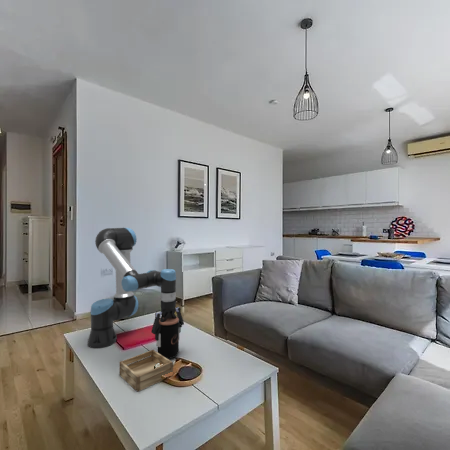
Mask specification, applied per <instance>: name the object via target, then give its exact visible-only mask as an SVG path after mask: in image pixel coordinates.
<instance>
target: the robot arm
mask: <svg viewBox="0 0 450 450" xmlns="http://www.w3.org/2000/svg"><path fill="white" fill-rule="evenodd" d="M137 239H138V238H137V235H136V233H135V231H134V230H133V229H132V228H130V227H114V228H110V227H108V228H103V229H102V230H100V231H99V232H98V233H97V234H96V237H95V241H94V242H95V248H96V249H97V250H98V252H99V253H100V254H102V255H104V257H105V258H106V260H107V261H109V263H110V264H111V266H112V267H113V268H114V270H115V289H116V290H115V293H114V295H113V298H102V299H99V300H95V302H93V303H92V304H91V306H90V331H89V332H90V333H89V335H88V338H87V347H90V348H92V349H102V348H106V347H109V346H111V345H113V344H115V343H116V342H117V341H116V339H117V340H118V338H117V332H116V330H115V328H114V321H119V320H121V319H125V318H128V317H131V316H133V315H136V313H137V312H138V311H139V310H138V309H139V300H138V297H137V296H136V295H135V293H134V291H135V292H136V291H138V290H142V289H147V288H152V287H159V288H160V300H161V301H160V311H159V312H155V314H154V315H155V318H154V319H153V320H154V321H153V325H152V327H151V333H152V334H153V335H154V341H155V343H156V347H157V348H158V347H161V334H160V330H161V326H162V325H160V324H159V320H160V321H161V322H165V321H166V319H169V318H174V319H175V318H176V317H178V318H179V321H178V323H179V340H180V334H181V329H182V327H183V325H185V322H184V319H183V315H182V311H181V307H179V306H177V300H176V298H177V297H176V296H177V295H176V294H177V293H176V292H177V273H176V272H177V271H176V270H175V269H172V268H164V269H161V271H158V270H155V269H154V270H153V269H151V270H150V269H149V270H148V271H147V272H144V273H138V271H137V270H136V269H135V268H134V266H133V265H132V264H131V252H132V251H133V247H134V246H136V243H137ZM175 313H176V314H175ZM176 315H177V316H176ZM163 318H164V319H163Z"/></svg>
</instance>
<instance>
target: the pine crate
mask: <svg viewBox="0 0 450 450" xmlns="http://www.w3.org/2000/svg"><path fill="white" fill-rule="evenodd" d="M118 362H119V364H118V365H119V366H118V367H119V369H118V370H119V374H118V375H119V377H121V378H122V379H123V380H124V381H125V382H126V383H127V384H128V385H129V386H130V387H131V388H133V389H134V390H135V391H136V392H140V391H142V390H145V389H146V388H149V387H151V386H153V385H155V384H158V383H160V382H162V381H163V380H162V378H161V376H162V375H165V374H168V373H170V372H173V373H174V362H173V361H172V360H170V359H167V358H165V357H164V356H162V355H161V354H159V353H158V351H156V350H155V349H150V350H148V351H145V352H143V353H140V354H138V355H134V356H132V357H129V358H127V359H124V360H120V361H118ZM157 363H161V364H163V365H162V366H160V367H157V368H155V369H154V366H155V364H157ZM162 371H163V372H162ZM160 372H161V373H160Z"/></svg>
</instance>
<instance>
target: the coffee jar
mask: <svg viewBox="0 0 450 450" xmlns="http://www.w3.org/2000/svg"><path fill="white" fill-rule="evenodd" d="M163 319H164V318H163ZM178 321H179V318H178V317H177V316H176V318H175V319H174V318H169V319H166V321H165V322H161V321H160V320H159V324H160V325H162V326H161V330H160V334H161V347H158V346H157V352H158V353H159V354H161V355H162V356H164V357H165V358H167V359H168V358H170V359H173V358H175V357H176V356H177V355H178V354H179V352H180V351H179V350H180V348H179V346H180V345H179V342H180V339H179V323H178ZM168 360H169V359H168Z"/></svg>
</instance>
